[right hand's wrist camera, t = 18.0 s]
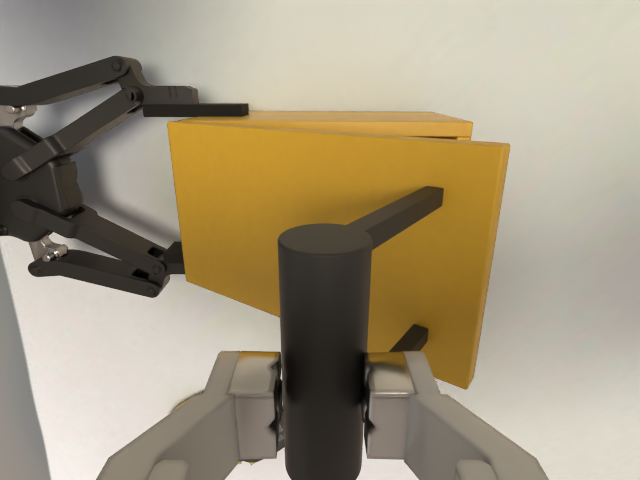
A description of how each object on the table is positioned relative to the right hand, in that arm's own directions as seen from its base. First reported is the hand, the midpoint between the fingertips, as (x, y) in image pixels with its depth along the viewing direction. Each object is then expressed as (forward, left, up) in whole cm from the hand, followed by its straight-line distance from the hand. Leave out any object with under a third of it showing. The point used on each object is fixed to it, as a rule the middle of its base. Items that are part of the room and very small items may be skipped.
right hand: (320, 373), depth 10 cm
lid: (0, +1, -11) cm, 11 cm away
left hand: (+3, +4, -21) cm, 22 cm away
